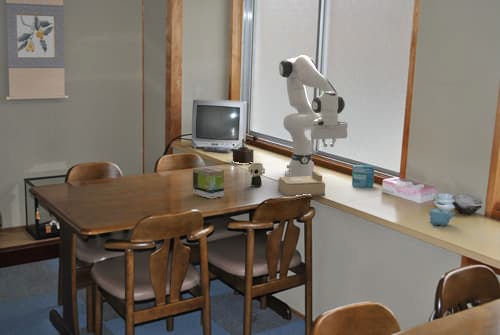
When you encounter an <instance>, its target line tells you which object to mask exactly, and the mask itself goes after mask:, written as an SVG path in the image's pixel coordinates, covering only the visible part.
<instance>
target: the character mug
mask: <svg viewBox="0 0 500 335" xmlns="http://www.w3.org/2000/svg"><path fill="white" fill-rule="evenodd" d="M247 169H248V170H247V172H248V173H250V175H251V181H250V186H251V185H252V186H251V187H254V186H259V187H262V184H263V182H262V177H261V176H263V174H265V173H266V169H265V167H264V165H263V163H261V162H254V163H251V164H249V165H248V167H247Z"/></svg>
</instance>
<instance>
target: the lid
mask: <svg viewBox="0 0 500 335" xmlns="http://www.w3.org/2000/svg"><path fill="white" fill-rule="evenodd" d="M278 179H281V180H282V181H283V182H284V183H286V184H310V183H325V181H324V180H323V175H322V174H320V173H319V172H318V171H316V170H314V171H312V176H297V177H286V176H280V177H279V178H278Z"/></svg>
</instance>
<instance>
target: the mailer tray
mask: <svg viewBox="0 0 500 335" xmlns="http://www.w3.org/2000/svg"><path fill="white" fill-rule="evenodd" d="M277 183H278V184H277V186H278V190H277V191H279V192H280V193H281V195H283V196H284V197H286V196H295V197H297V196H296V195H303V194H311V195H312V197H313V196H326V183H325V182H324V183H310V184H286V183H284V182H283V181H282V180H281V179H280V178H278V182H277ZM286 198H287V197H286Z"/></svg>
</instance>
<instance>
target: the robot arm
mask: <svg viewBox="0 0 500 335" xmlns="http://www.w3.org/2000/svg"><path fill="white" fill-rule="evenodd" d="M278 72H279V75H280V76H281V77H282V78H285V79H286V91H287V92H286V93H287V96H288V100H289V104H290V106H291V107H292V108H293V109H295V110H296V111H297V113H296V112H295V113H290V114H287V115H285V117H284V118H283V122H282V123H283V127H284V130H286V131H287V132H288V134H290V136H291V140H292V155H291V160H290V162H289V163H288V164H287V165H286V170H285V171H284V172H285V177H297V176H312V171H315V163H314V161H312V160H313V159H312V158H313V155H312V140H311V139H313V140H321V141H322V143H323V148H328V143H327V142H326V140H332V141H331V142H330V143H329V146H330V148H334V146H335V145H334V144H335V142H336V141H337V139H347V137H348V122H346V121H343V120H342V121H339V119H338V118H339V116H338V115H339V114H340V113H342V112H343V111H344V109H345V107H346V105H345V104H346V103H345V100H344V98H343V97H342V96H341V95H340V94H339V93H338V92H337V91H336V89H335V87H334V86H333V84H332V83H331V82H330V81H329V79H328V78H327V77H325V75H323V74H321V73H320V72H319V71H318V70H317V68H316V62H315V60H314V58H313V57H310V56H309V57H308V56H307V55H299V56H298V57H293V58H290V59H289V58H288V59H284V60H281V61H280V63H279V64H278ZM306 87H309V88H315V89H318V90H321V91H322V94H321V95H318V96H316V97H314V98H313V100H312V102H311V103H310V101H309V98H308V95H307V89H306ZM320 114H321V115H320ZM305 131H306V132H307V131H310V134H309V135H310V138H311V139H310V138H309V137H307V136H306V132H305Z"/></svg>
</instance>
